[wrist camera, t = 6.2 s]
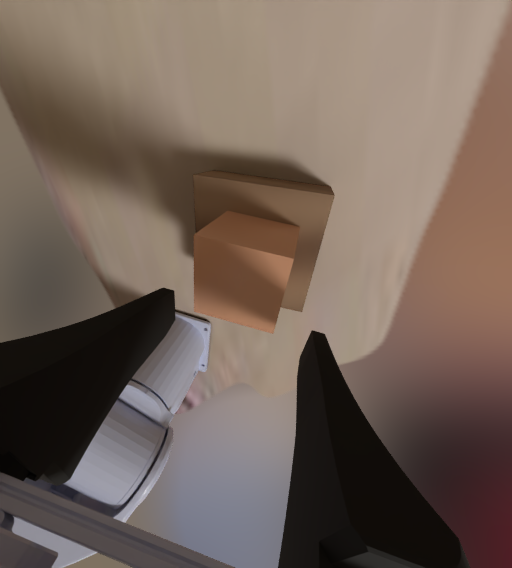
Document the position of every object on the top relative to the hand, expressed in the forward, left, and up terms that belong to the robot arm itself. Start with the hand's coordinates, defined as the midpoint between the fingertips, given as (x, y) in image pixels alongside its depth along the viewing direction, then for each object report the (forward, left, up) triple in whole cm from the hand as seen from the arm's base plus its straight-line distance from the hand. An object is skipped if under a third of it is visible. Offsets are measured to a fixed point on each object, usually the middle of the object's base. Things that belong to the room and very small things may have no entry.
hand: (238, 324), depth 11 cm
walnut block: (+1, +1, -10) cm, 11 cm away
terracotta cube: (+1, +1, -6) cm, 7 cm away
